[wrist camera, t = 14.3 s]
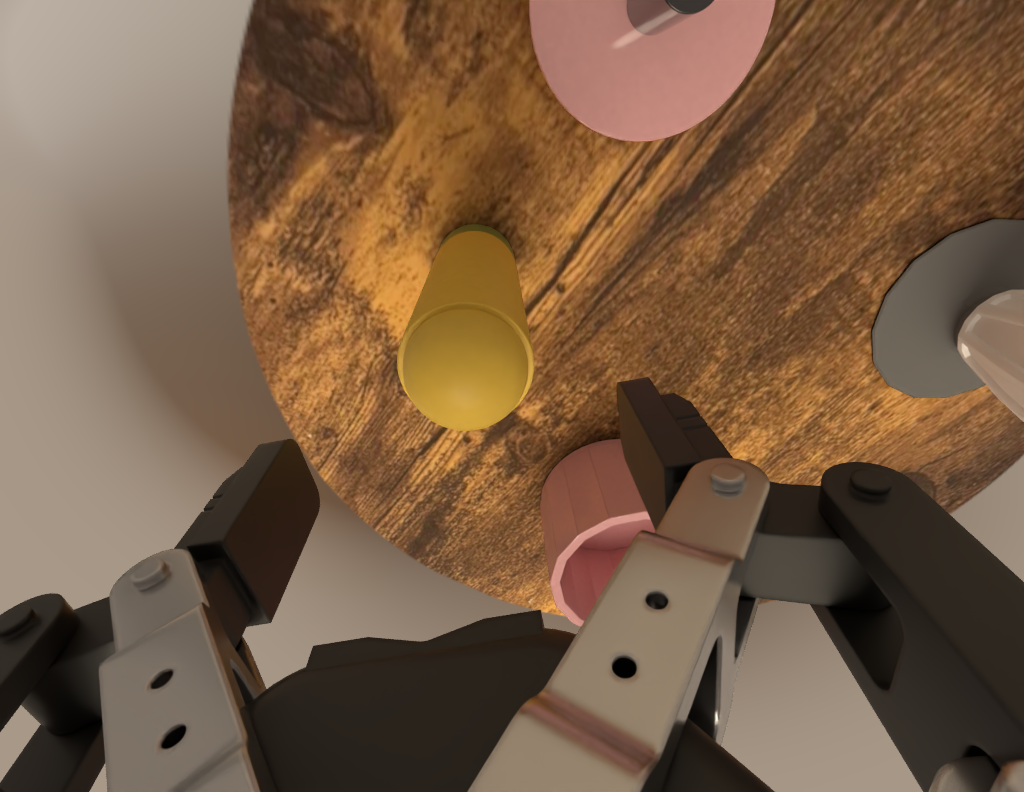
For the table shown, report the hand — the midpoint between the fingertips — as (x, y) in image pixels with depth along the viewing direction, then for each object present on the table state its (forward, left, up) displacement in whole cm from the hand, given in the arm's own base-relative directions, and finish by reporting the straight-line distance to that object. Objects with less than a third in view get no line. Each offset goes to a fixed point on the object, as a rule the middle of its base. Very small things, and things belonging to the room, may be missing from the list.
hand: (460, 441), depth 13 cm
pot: (+12, -15, -18) cm, 26 cm away
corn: (0, 0, -18) cm, 18 cm away
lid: (+6, +13, -18) cm, 23 cm away
